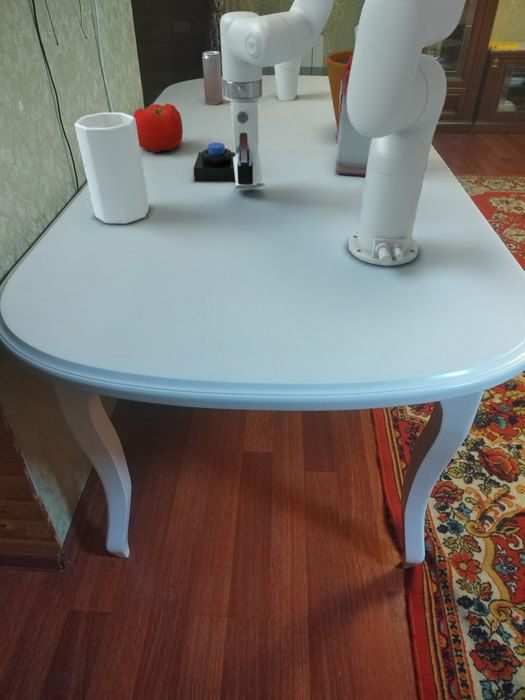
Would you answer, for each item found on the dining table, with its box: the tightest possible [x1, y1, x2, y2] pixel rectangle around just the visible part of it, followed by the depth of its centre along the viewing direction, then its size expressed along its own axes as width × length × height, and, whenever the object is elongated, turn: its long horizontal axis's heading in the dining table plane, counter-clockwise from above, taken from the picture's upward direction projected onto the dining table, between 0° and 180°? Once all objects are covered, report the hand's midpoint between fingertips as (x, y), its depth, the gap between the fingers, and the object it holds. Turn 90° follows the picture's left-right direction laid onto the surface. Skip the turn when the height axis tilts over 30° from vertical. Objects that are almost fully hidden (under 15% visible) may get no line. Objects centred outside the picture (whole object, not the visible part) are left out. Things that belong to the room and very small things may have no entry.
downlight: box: [232, 152, 266, 190], centre depth 111 cm, size 8×7×10 cm
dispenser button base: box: [193, 147, 236, 183], centre depth 122 cm, size 11×10×5 cm
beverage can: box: [201, 50, 224, 106], centre depth 169 cm, size 6×6×15 cm
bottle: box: [335, 24, 372, 177], centre depth 117 cm, size 14×10×30 cm
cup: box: [74, 111, 150, 225], centre depth 100 cm, size 11×11×18 cm
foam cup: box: [273, 57, 303, 102], centre depth 174 cm, size 10×9×13 cm
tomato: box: [132, 102, 184, 153], centre depth 134 cm, size 14×13×10 cm
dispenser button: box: [207, 142, 226, 156], centre depth 120 cm, size 4×4×2 cm
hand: (245, 182), depth 109 cm, fingers closed
